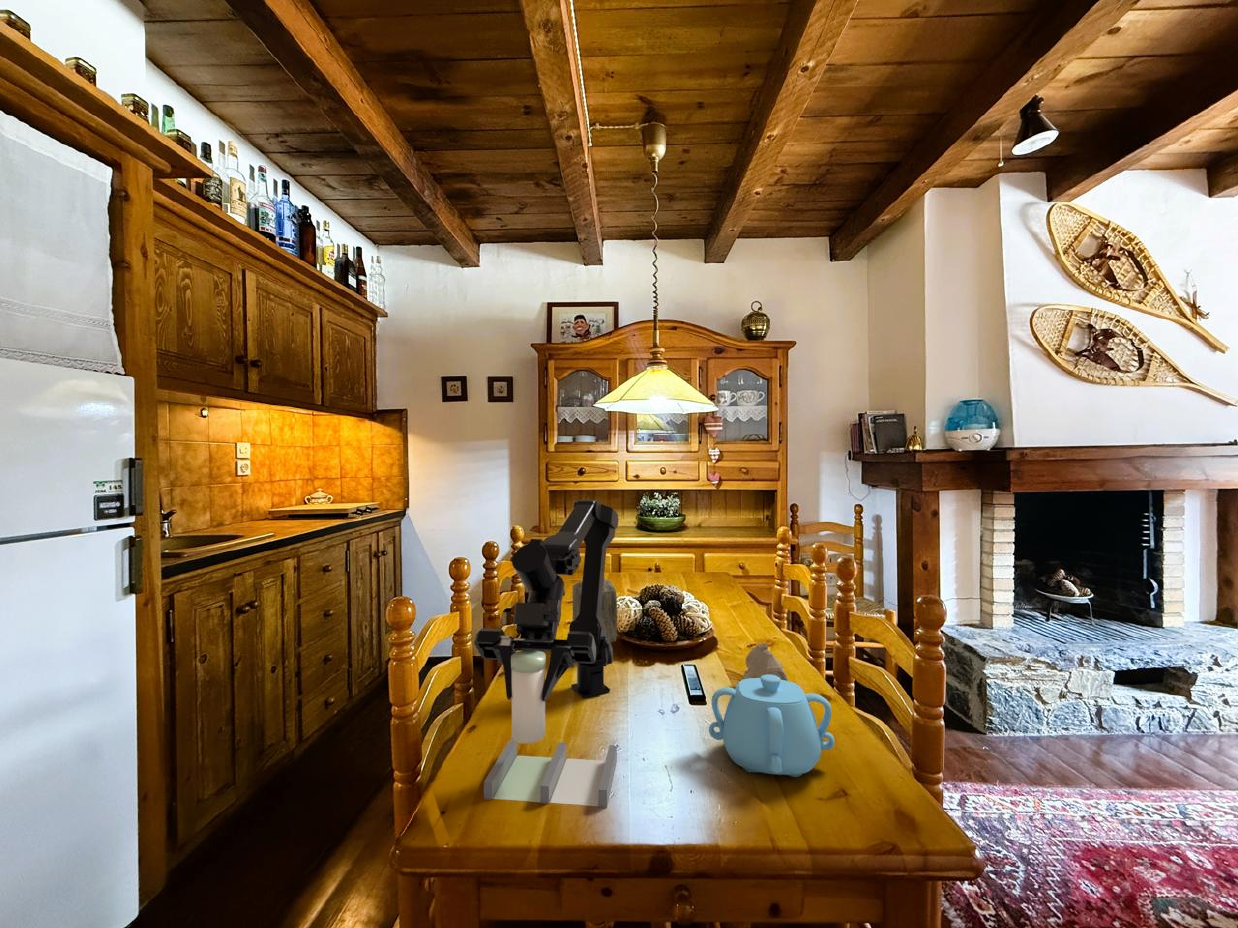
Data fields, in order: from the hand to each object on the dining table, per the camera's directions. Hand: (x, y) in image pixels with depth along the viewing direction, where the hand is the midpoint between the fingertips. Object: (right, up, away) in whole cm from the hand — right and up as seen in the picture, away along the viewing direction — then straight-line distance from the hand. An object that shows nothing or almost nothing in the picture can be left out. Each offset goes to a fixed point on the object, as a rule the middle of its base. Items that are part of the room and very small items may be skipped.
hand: (525, 699), depth 82 cm
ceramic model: (+45, -14, +36) cm, 59 cm away
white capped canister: (0, -6, +1) cm, 6 cm away
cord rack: (+4, -13, +1) cm, 14 cm away
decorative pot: (+39, -14, +8) cm, 42 cm away
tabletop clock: (+7, -13, +60) cm, 62 cm away
